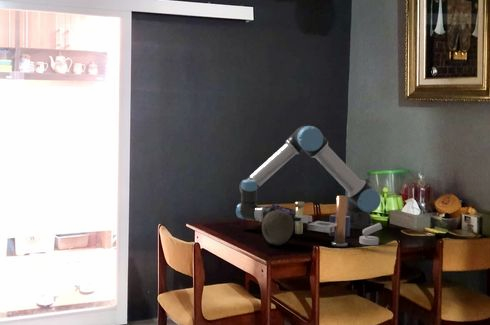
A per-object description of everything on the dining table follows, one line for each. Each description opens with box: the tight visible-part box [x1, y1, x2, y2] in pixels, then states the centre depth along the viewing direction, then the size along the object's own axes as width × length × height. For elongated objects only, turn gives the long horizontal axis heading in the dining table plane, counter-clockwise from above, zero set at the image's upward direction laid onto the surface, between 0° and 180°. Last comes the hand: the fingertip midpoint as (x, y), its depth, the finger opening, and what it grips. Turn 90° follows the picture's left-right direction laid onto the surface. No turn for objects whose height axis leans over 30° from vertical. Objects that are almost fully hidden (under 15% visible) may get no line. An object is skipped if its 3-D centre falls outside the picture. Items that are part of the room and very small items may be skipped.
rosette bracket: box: [306, 195, 348, 248], centre depth 267 cm, size 17×11×22 cm, turn 58°
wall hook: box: [358, 222, 383, 246], centre depth 271 cm, size 9×10×10 cm
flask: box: [328, 213, 351, 238], centre depth 285 cm, size 10×3×12 cm, turn 74°
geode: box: [268, 202, 296, 223], centre depth 319 cm, size 20×12×10 cm, turn 34°
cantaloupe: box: [261, 211, 295, 247], centre depth 262 cm, size 14×14×15 cm
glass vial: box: [294, 201, 305, 235], centre depth 277 cm, size 4×4×14 cm
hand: (309, 219), depth 274 cm, fingers closed on glass vial, 3 cm apart
